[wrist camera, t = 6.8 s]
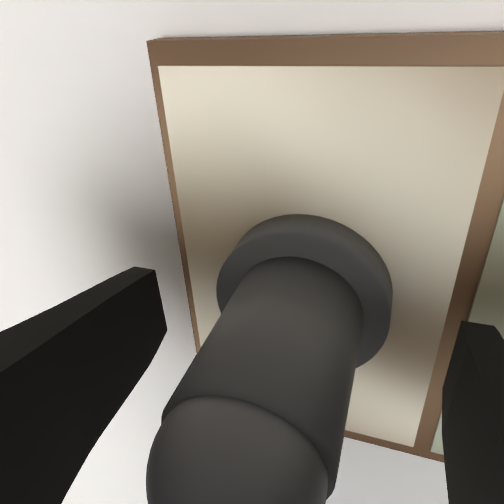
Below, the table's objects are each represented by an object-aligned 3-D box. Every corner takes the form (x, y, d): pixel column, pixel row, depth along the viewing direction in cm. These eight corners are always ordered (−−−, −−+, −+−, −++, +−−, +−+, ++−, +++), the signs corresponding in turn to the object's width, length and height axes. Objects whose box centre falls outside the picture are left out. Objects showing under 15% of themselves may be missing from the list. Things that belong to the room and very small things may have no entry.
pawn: (382, 363, 12) (347, 685, 6) (235, 333, 13) (104, 581, 8) (404, 224, 10) (380, 546, 4) (223, 205, 11) (25, 431, 5)
